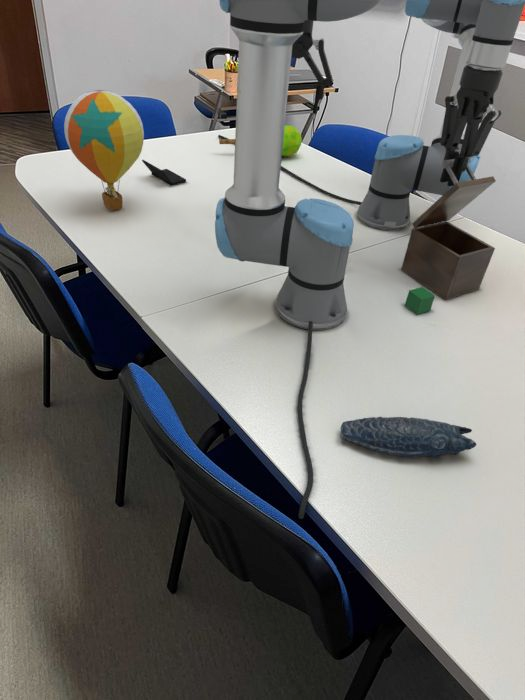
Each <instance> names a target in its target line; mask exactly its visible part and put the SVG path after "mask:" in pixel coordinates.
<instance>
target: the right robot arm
mask: <svg viewBox="0 0 525 700" xmlns="http://www.w3.org/2000/svg"><path fill="white" fill-rule="evenodd" d="M524 9H525V0H405V4H404V14H405V15H406V16H407V17H411V18H416V19H421V21H422V22H423V23H424V24H425V25H427V26H429V27H431V28H432V29H433V28H434V29H436V30H438V31H441V32H444V33H449V34H456V35H458V45H459V46H460V47H461V51H460V55H459V58H458V61H457V66H456V70H455V74H454V78H453V82H452V86H451V88H450V89H451V90H450V94H449V95H448V96H445V98H444V103H445V105H444V106H445V110H444V115H443V116H444V117H443V120H442V124H441V128H440V132H439V135H438V136H436V137H434V138H433V139H432V141H431V143H430V145H429V146H428V145H425V142H424V139H423V138H422V137H419V136H415V135H411V134H410V135H408V134H400V135H399V134H398V135H391V136H387V137H384V138H382V139H381V140H380V141H379V142H378V145H377V149H376V152H375V155H374V163H373V167H372V170H371V171H372V172H371V176H370V181H369V186H368V191H367V192H366V194H365V196H364V198H363V199H362V201H358V200H353V199H349V198H346V197H342V196H339V195H337V194H335V193H332V192H329V191H327V190H325V189H322V188H320V187H319V186H317V185H315V184H313V183H311V182H310V181H308V180H306V179H304V178H303V177H300V176H299V175H297V174H296V173H294V172H292V171H291V170H289V169H288V168H286V167H284V166H282V165H281V169H280V170H282V171H283V172H285V173H287V174H288V175H290V176H291V177H293V178H295V179H296V180H298V181H300V182H301V183H304V184H305V185H307V186H309V187H311V188H312V189H315V190H316V191H318V192H320V193H322V194H323V195H326V196H329V197H331V198H334V199H336V200H339V201H343V202H346V203H349V204H353V205H358V209H357V212H356V217H357V219H358V221H359V222H360V223H362V224H363V225H365V226H367V227H370V228H373V229H376V230H381V231H389V232H391V231H392V232H393V231H400V230H401V231H402V230H404V229H406V228H407V227H409V225H410V220H411V208H410V196H411V191H417V192H423V193H428V194H433V195H437V196H443V195H444V194H445V193H446V192H447V191H448V190H449V189H450V188H451V187H452V186H454V183H453V181H452V179H451V177H450V175H449V174H448V172H447V170H446V168H443V167H442V162H443V161H444V160H450V159H455V161H454V165H453V167H451V169H452V171H453V173H454V175H455V177H456V179H457V180H458V182H464V181H470V180H471V178H470V177H469V175H468V173H467V171H466V166H467V163H468V165H469V167H470V169H471V171H472V173H473V174H474V175H475V172H476V170H477V169H478V165H479V162H480V159H481V155H480V153H481V152H482V149H483V147H484V145H485V144H486V141H487V139H488V137H489V134H490V133H491V131H492V128H493V127H494V124H495V123H496V121H497V120H498V119H499V118H500V117H501V116H502V111H501V110H500V109H499V110H498V109H497V108H495V106H494V103H495V102H494V101H495V100H494V99H495V98H494V96H495V94H496V92H497V90H499V85H500V83H501V80H502V76H503V70H502V69H503V68H505V67H506V64H507V61H508V58H509V55H510V51H511V48H512V46H513V43H514V38H515V36H516V32H517V29H518V27H519V24H520V20H521V18H522V14H523V13H524ZM483 117H484V118H483ZM217 137H218V138H219V139H229V138H228V137H226V136H223V135H221V134H218V135H217Z"/></svg>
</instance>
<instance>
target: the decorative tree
mask: <svg viewBox="0 0 525 700" xmlns="http://www.w3.org/2000/svg"><path fill="white" fill-rule="evenodd" d="M302 142H303V137H302V133H301V132H300V131H299V130H298V128H296V127H295V126H293V125H285V127H284V138H283V148H282V157H292V156H294V155H295V154H297V153H298V152H299V150H300V148H301V146H302ZM218 143H219V145H235V138H228V139H221V138H219V141H218Z"/></svg>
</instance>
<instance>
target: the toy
mask: <svg viewBox="0 0 525 700" xmlns="http://www.w3.org/2000/svg"><path fill="white" fill-rule="evenodd" d="M63 128H64V130H63V131H64V132H63V133H64V137H65V141H66V144H67V146H68V148H69V150H70V151H71V152H72V154H73V156H75V158H76V159H77V161H78V162H80V163H81V165H83V166H84V167H85V168H86V169H87V170H88V171H90V172H91V173H92V174H93V175H94V176H96V177H97V178H98V179H100V180H101V183H102V184H101V185H102V187H103V191H102V193H101V198H102V203H103V205H104V207H105V208H106V209H108V210H109V211H110V212H113V211H118V210H121V209H122V208H123V203H124V201H123V195H122V194H121V193H120V192H119V191H118V190H119V188H120V183H118V182H120V181H121V178H122V177H123V176H124V175H125V174H126V173H127V172H128V171H129V170H130V169H131V167H133V165H134V164H135V163H136V161H137V160H138V159H139V158H140V155H141V153H142V150H143V147H144V141H145V131H144V130H145V129H144V125H143V121H142V119H141V116H140V114H139V113H138V111H137V109H136V108H134V106H133V105H132V103H130V102H129V101H128V100H127V99H126V98H124V97H123V96H122V95H119V94H117V93H115V92H112V91H109V90H102V89H101V90H100V89H98V90H92V91H87V92H85V93H82V95H79V96H78V97H77V98H76V99H75V100H73V102H72V103H71V105H70V107H69V108H68V111H67V112H66V114H65V118H64V124H63ZM104 183H105V184H106V185H107V186H106V187H105V186H104ZM115 183H118V185H117V190H116V188H115Z"/></svg>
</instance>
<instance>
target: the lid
mask: <svg viewBox="0 0 525 700" xmlns="http://www.w3.org/2000/svg"><path fill="white" fill-rule="evenodd" d="M454 161H455V159H450V160H444V161H443V162H442V167H443V168H446V170H447V172H448V174H449V175H450V177H451V179H452V181H453V183H454V186H452V187H451V188H450V189H449V190H448V191H447V192H446V193H445V194H444V195H441V196H440V197H439V198H438V199H437V200H436V201H435V202H433V204H432V205H431V206H429V207H428V208H427V209H426V210H425V211H423V213H422V214H420V215H419V216H418V217H417V218H416V219H415V220H413V222H412V223H411V225H412V227H413V229H414V228H418V227H423V226H427V225H432V224H436V223H441V222H445V221H447V222H450V220H451V219H452V218H454V217H455V216H456V215H458V213H460V212H461V211H463V209H465V207H467V206H468V205H469V204H471V202H473V201H474V200H475V199H477V198H478V197H479V196H480V195H481V194H482V193H484V192H485V191H486V190H487V189H488V188H489V187H490V186H491V185H494V184H495V183H496V181H497V180H496V178H495V177H494V176H487V177H481V178H476V176H475V173H474V174H473V173H472V171H471V169H470V167H469V165H468V163H467V166H466V171H467V173H468V175H469V177H470V178H471V180H470V181H464V182H458V180H457V179H456V177H455V175H454V173H453V171H452V169H451V167H453V165H454Z"/></svg>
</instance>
